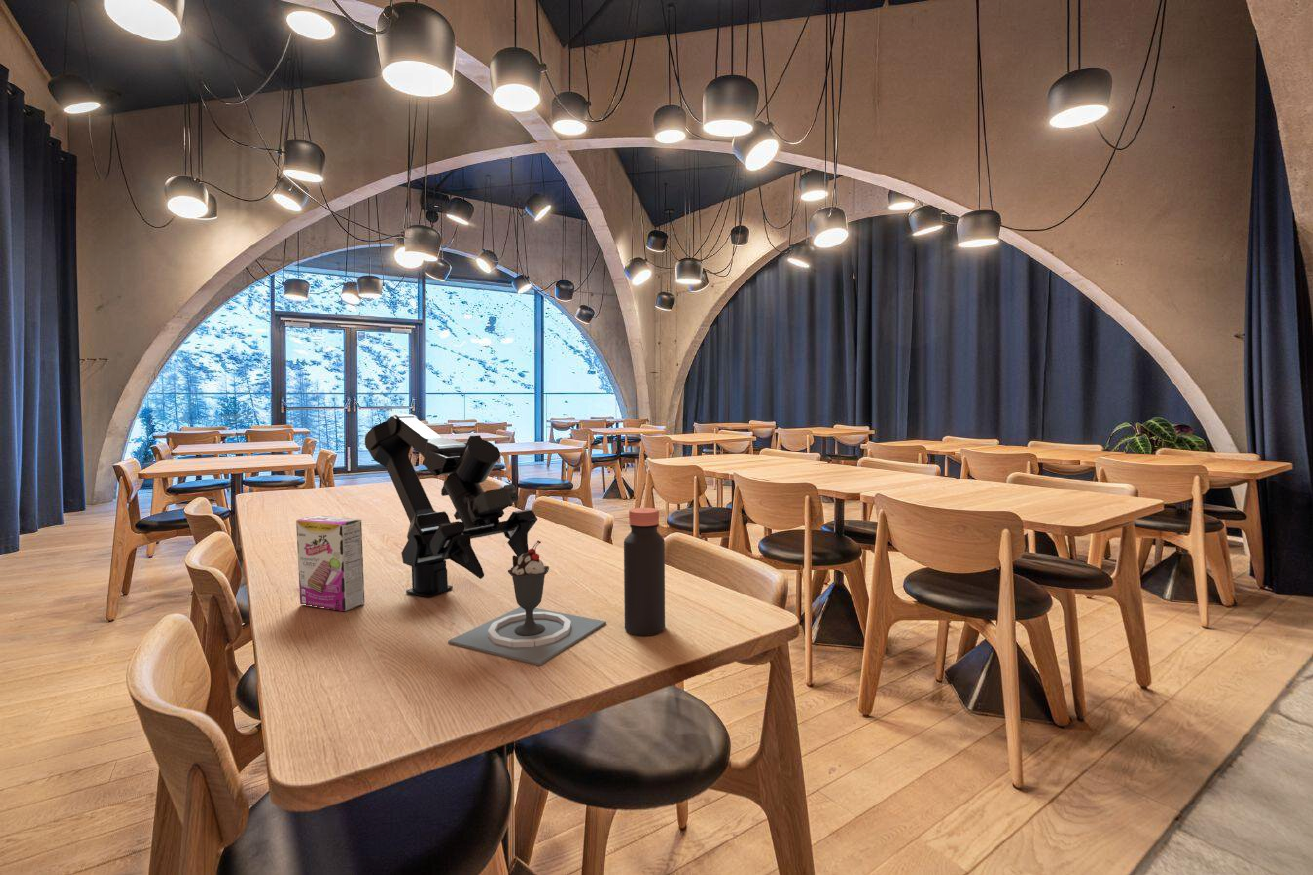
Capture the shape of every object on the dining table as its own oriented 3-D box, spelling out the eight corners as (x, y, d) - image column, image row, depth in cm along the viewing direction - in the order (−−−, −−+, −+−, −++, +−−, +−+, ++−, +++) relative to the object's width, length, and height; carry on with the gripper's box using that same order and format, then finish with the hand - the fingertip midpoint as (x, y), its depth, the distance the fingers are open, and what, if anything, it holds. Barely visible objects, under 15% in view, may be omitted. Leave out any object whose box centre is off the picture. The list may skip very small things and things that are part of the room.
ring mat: (448, 643, 95) (448, 635, 94) (523, 607, 110) (523, 601, 110) (539, 665, 86) (539, 657, 86) (606, 623, 102) (606, 616, 102)
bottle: (635, 639, 95) (634, 515, 94) (618, 625, 101) (616, 508, 100) (672, 632, 98) (672, 511, 97) (653, 618, 104) (653, 505, 103)
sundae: (553, 634, 97) (552, 542, 96) (511, 640, 94) (509, 546, 93) (547, 620, 103) (545, 534, 102) (507, 625, 101) (505, 537, 100)
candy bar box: (297, 606, 112) (294, 519, 111) (320, 598, 116) (317, 514, 115) (344, 613, 108) (340, 523, 107) (366, 604, 113) (362, 518, 112)
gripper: (436, 476, 97) (475, 555, 91) (530, 466, 111) (569, 533, 105) (414, 517, 103) (449, 594, 97) (506, 502, 117) (542, 569, 111)
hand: (506, 571), depth 102 cm, fingers open, 9 cm apart
